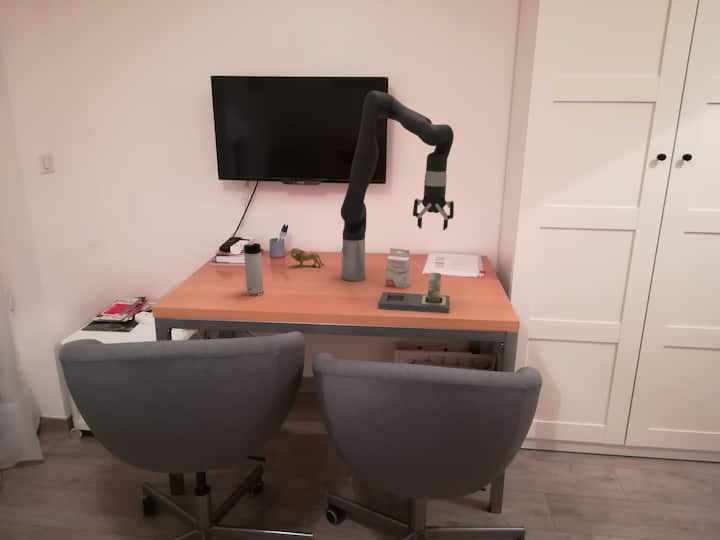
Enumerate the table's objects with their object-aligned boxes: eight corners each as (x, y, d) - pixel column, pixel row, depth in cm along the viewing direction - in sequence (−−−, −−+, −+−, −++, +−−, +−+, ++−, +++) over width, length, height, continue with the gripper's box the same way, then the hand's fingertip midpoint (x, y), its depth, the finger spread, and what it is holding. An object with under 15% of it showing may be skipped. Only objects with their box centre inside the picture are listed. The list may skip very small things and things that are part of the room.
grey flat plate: (378, 308, 191) (378, 302, 190) (382, 296, 202) (382, 291, 201) (448, 313, 186) (448, 307, 185) (449, 300, 197) (449, 295, 197)
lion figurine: (291, 269, 235) (290, 249, 232) (291, 265, 240) (290, 246, 237) (324, 267, 237) (324, 248, 234) (323, 264, 242) (323, 245, 239)
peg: (426, 307, 191) (428, 276, 187) (427, 303, 195) (428, 272, 192) (439, 308, 190) (440, 276, 187) (439, 304, 194) (441, 272, 191)
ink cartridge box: (385, 286, 213) (386, 250, 209) (389, 282, 218) (389, 247, 213) (406, 288, 211) (407, 252, 206) (409, 284, 215) (410, 249, 211)
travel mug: (250, 297, 201) (246, 246, 195) (245, 292, 207) (241, 242, 201) (266, 294, 204) (262, 244, 198) (260, 289, 210) (257, 240, 204)
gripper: (456, 183, 187) (452, 228, 192) (416, 180, 190) (413, 225, 195) (455, 186, 180) (451, 232, 185) (413, 184, 183) (411, 229, 188)
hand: (432, 228), depth 190 cm, fingers open, 8 cm apart
